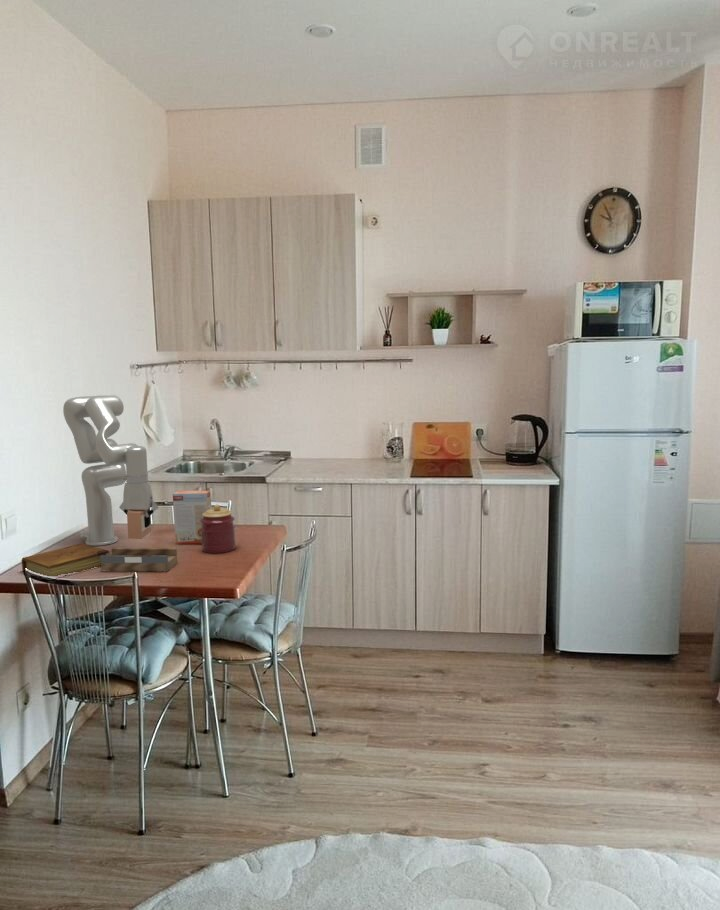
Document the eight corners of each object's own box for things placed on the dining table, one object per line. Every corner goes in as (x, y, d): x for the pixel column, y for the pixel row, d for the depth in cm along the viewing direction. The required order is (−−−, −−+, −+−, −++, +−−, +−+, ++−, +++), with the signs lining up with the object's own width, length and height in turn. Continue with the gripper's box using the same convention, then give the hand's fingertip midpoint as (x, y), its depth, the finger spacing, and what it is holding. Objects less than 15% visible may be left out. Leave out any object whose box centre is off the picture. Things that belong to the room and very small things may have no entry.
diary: (81, 557, 275) (80, 543, 274) (109, 565, 263) (108, 550, 262) (22, 572, 257) (21, 556, 256) (50, 581, 245) (48, 565, 245)
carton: (128, 538, 268) (126, 512, 267) (138, 531, 278) (137, 506, 277) (141, 538, 268) (140, 512, 266) (151, 531, 278) (150, 506, 276)
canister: (207, 544, 287) (204, 501, 284) (239, 544, 286) (237, 500, 283) (198, 553, 274) (195, 508, 271) (231, 553, 273) (229, 508, 271)
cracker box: (213, 540, 293) (211, 489, 290) (209, 544, 287) (206, 492, 284) (180, 540, 295) (177, 490, 292) (175, 544, 289) (172, 492, 286)
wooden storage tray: (101, 571, 254) (99, 556, 253) (114, 562, 265) (112, 548, 264) (167, 571, 252) (166, 556, 251) (177, 563, 262) (176, 548, 262)
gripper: (111, 480, 267) (113, 528, 270) (155, 481, 265) (158, 529, 268) (119, 477, 274) (122, 523, 277) (163, 477, 272) (165, 524, 275)
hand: (139, 525), depth 273 cm, fingers closed on carton, 5 cm apart
